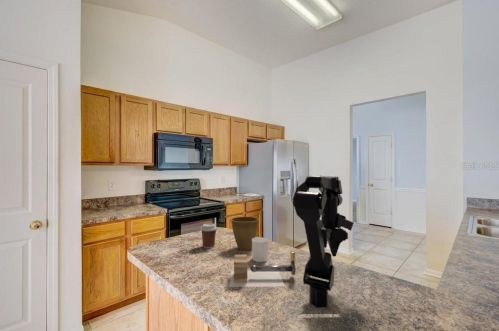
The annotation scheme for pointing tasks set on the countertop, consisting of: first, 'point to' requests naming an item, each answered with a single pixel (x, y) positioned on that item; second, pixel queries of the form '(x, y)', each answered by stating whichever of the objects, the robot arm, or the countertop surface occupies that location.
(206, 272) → the countertop surface
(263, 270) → the hook rod
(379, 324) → the countertop surface
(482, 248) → the countertop surface
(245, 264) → the block
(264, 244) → the white cup
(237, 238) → the plant pot
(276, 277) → the mounting board
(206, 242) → the coffee cup
